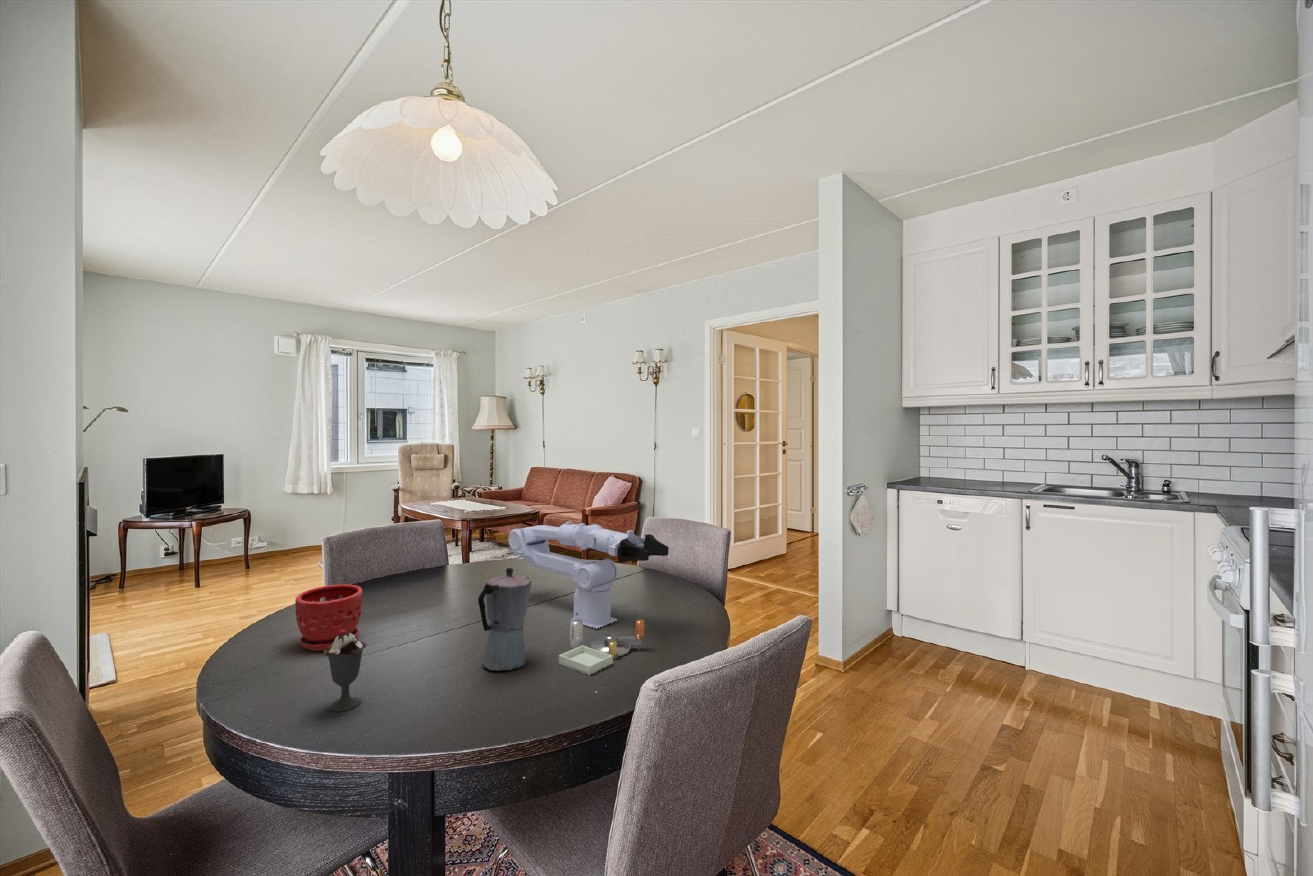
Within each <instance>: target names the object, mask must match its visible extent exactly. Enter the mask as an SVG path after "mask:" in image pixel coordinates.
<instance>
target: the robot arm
mask: <svg viewBox="0 0 1313 876" xmlns="http://www.w3.org/2000/svg"><path fill="white" fill-rule="evenodd" d="M573 522H574V521H565V523H563V524H561V525H560V526H559V527H558V526H553V525H548V524H547V525H545V524H541V525H539V524H538V525H533V526H529V527H522V528H514V529H511V530H510V532H509V535H508V538H507V539H508V545H509V548H510V549H511V552H512V554H514V555H518V556H520V557H522V558H521V559H523V560H524V561H525V562H527V563H528V565H530V566H531V567H533V568H534V569H538V570H543V571H545V572H549V573H553V574H557V575H561V576H564V577H567V578H568V577H569V578H571V579H572V582H573V583H574V584H577V585H578V587H577V588H576V589H575V592H574V595H573V618H572V619H570V621H571V620H573V619H581V620H583V626H586V627H589V628H592V627H593V628H592V629H595V628H596V630H598V628H599V629H601V628H604V627H606V626H608V625H607V624H609V623H611V624H614V623H616V622H618V621H617V620H618V618H615V617H612V616H611V612H612V611H611V609H612V608H611V606H612V603H611V602H612V587H613V585H614V584H613V583H614V582H615V580H616V579H617V577H618V568H617V564H616V563H615V562H614V561H613V560H612V559H610V558H605V559H603V560H598V559H591V560H590V559H588V560H587V559H581V558H577V557H573V556H569V555H565V554H559V553H555V552H553V551H552V552H551V550H550V546H549V540H557V541H558V542H559V544H560V545H563V546H570V547H579V548H580V550H581V551H584V550H588V549H593V550H595V551H599V552H602V553H606V554H608V556H613V557H616V556H617V562H618V563H620V564H623V563H626V562H632V561H635V562H636V561H637V562H639V561H640V562H645V561H649V559H650V557H651V556H652V557H653V556H658V557H666V556H669V548H670V547H669V546H668V545H666V544H665V543H662V542H660V541H659V540H658V539H657V538H655V536H654V534H650V533H647V534H645V535H644V538H643V537H640V536H638V535H635V531H634V530H632V529H629V530H627V531H626V533H623V532H621V531H616V530H611V529H608V528H607V529H606V528H603V527H602V526H601V525H600V524H597V523H592V524H590V525H586V524H585V523H584V522H581V523H579V524H575V523H573ZM615 621H616V622H615ZM613 622H614V623H613ZM605 625H606V626H605ZM609 625H610V624H609ZM603 626H604V627H603ZM600 627H601V628H600Z"/></svg>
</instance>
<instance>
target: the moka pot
mask: <svg viewBox="0 0 1313 876" xmlns="http://www.w3.org/2000/svg"><path fill="white" fill-rule="evenodd" d="M513 572H514V568H512V567H507V568H506V569H505V573H506V574H505V575H503V576H502V575H501V576H496V577H491V578H489V579H488V580H487V581H486V582H484V583H485V585H484V586H483V589H482V591H481V592H480V594H479V595H478V597H477V600H478V605H479V612H480V617H481V620H482V621H481V622H482V626H483V631H484V632H487V631H488V633H487V638H486V644H485V648H484V653H483V659H482V666H483V667H484V669H487V670H489V671H495V672H496V671H498V672H500V671H501V672H502V671H503V672H504V671H512V670H516V669H519V668H521V667H523V666H525V664H526V651H525V650H526V649H525V635H524V634H525V633H524V624H525V617H526V615H527V611H528V606H529V599H530V593H531V588H532V580H531V579H529V577H528V576H525V575H513ZM485 598H486V604H485V601H484V600H485ZM486 614H487V615H486ZM487 618H488V619H487Z"/></svg>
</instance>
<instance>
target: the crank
mask: <svg viewBox="0 0 1313 876" xmlns="http://www.w3.org/2000/svg"><path fill="white" fill-rule="evenodd" d="M644 637H645V620H644V619H636V620H635V636H634V635H628V636H627V635H624V636H623V635H621V636H620V635H619V634H617V633H605V634H604V635H603V638H604V644H605V645H607V646H609V642H610V641H616V642H617V645H631V646H632V645H637V646H638V645H642V640H644Z"/></svg>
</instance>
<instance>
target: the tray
mask: <svg viewBox="0 0 1313 876" xmlns="http://www.w3.org/2000/svg"><path fill="white" fill-rule="evenodd" d="M558 664H559V665H560V666H564V667H566V668H568V669H571V670H573V671H576V672H579V673H581V674H583V675H586V674H587V676H589V677H590V676H591V674H592V675H593V673H594V674H595V673H597V671H598V672H600V671H602V670H603V669H602V668H604V669H606V668H608V667H610V666H611V665H610V664H612V665H613V664H614V660H613V656H612V655H609V654H606V653H603V652H601V651H598V650H595V649H592V648H591V647H589V646H586V645H582V646H580V647H577V648H575V649H573V650H570V649H569V650H568V651H566V652H564V653H561V654H559V655H558ZM609 665H610V666H609ZM607 666H608V667H607ZM605 667H606V668H605ZM601 669H602V670H601ZM599 670H600V671H599Z"/></svg>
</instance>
